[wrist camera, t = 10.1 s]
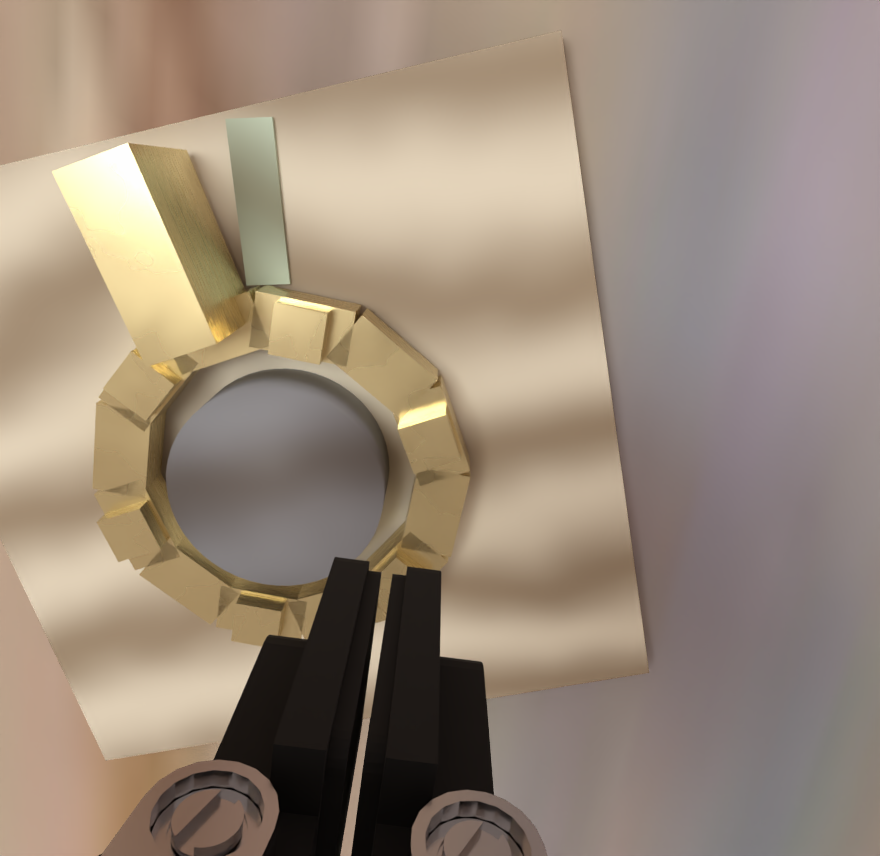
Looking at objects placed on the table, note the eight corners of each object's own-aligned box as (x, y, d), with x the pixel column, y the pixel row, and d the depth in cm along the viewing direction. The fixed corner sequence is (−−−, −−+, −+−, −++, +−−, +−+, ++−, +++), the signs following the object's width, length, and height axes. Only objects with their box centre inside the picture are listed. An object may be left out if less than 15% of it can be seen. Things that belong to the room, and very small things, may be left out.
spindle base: (642, 655, 32) (666, 714, 29) (117, 741, 34) (78, 806, 31) (556, 37, 24) (574, 11, 20) (-133, 202, 26) (-226, 206, 22)
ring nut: (345, 91, 23) (320, 69, 19) (506, 567, 29) (516, 636, 25) (-21, 227, 25) (-124, 237, 20) (202, 651, 31) (160, 730, 26)
